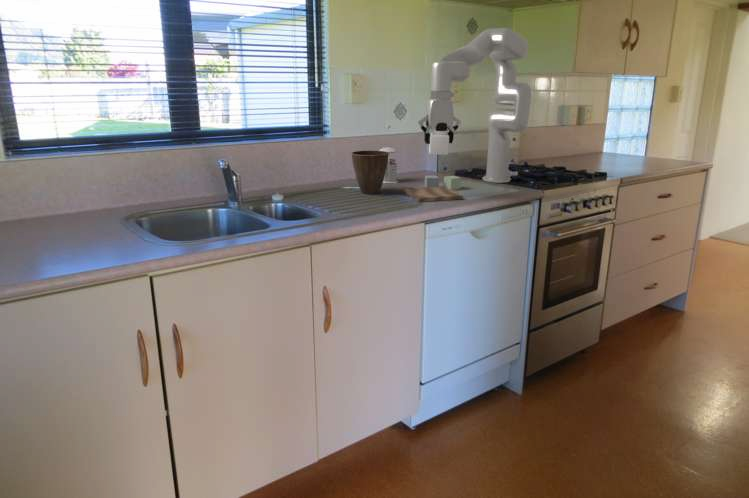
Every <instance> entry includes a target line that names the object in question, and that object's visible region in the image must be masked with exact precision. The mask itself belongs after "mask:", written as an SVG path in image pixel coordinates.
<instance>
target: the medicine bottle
mask: <svg viewBox="0 0 749 498" xmlns="http://www.w3.org/2000/svg"><path fill="white" fill-rule="evenodd" d="M430 132H431V133H430V144H428V153H429V155H434V156H435V155H436V156H441V155H443V156H447V155H449V153H450V152H449V150H450V149H449V148H450V143H449V135H448V127H447V124H446V123H438V124H437V126H436V127H435V128H432V129H431V130H430Z"/></svg>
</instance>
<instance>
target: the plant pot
mask: <svg viewBox="0 0 749 498" xmlns="http://www.w3.org/2000/svg"><path fill="white" fill-rule="evenodd" d="M389 154H390V153H388V152H385V151H379V150H357V151H352V152H351V160H352V165H353V171H354V175H355V178H356V182H357V184H358V187H359V190H360V192H361V193H362V194H367V195H369V194H370V195H374V194H379V193H380V192H381V189H382V187H383V180H384V177H385V173H386V168H387V162H388V158H389V156H390V155H389Z"/></svg>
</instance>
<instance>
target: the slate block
mask: <svg viewBox="0 0 749 498" xmlns="http://www.w3.org/2000/svg"><path fill="white" fill-rule="evenodd" d="M439 183H440V177H439V176H437V175H424V188H428V187H440V186H439Z"/></svg>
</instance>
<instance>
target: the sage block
mask: <svg viewBox="0 0 749 498" xmlns="http://www.w3.org/2000/svg"><path fill="white" fill-rule="evenodd" d="M461 181H462V177H460V176H456V175H449V176H448V175H447V176H443V187H447V188H449V189H451V190H453V191H457V190H458V189H459V190H461V186H462V185H461V184H462V183H461Z"/></svg>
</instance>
